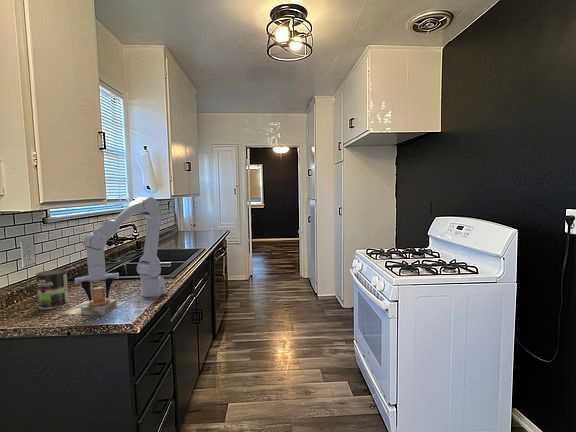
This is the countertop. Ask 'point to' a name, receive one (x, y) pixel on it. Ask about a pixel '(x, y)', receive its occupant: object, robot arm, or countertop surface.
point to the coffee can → (52, 288)
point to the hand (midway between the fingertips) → (99, 298)
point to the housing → (93, 308)
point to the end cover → (98, 297)
